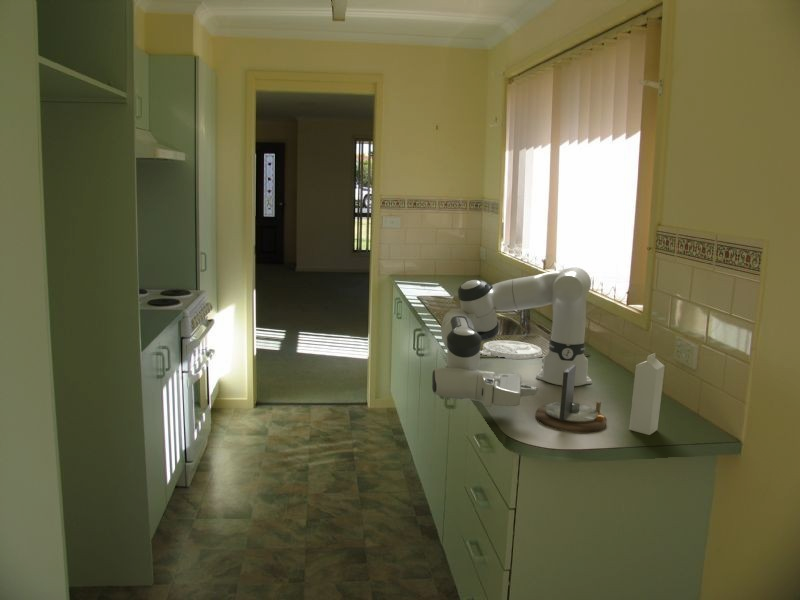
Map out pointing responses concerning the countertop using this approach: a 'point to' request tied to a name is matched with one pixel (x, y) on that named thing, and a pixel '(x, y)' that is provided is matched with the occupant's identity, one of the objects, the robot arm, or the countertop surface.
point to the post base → (571, 427)
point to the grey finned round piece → (571, 403)
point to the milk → (647, 396)
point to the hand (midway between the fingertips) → (537, 391)
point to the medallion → (511, 349)
